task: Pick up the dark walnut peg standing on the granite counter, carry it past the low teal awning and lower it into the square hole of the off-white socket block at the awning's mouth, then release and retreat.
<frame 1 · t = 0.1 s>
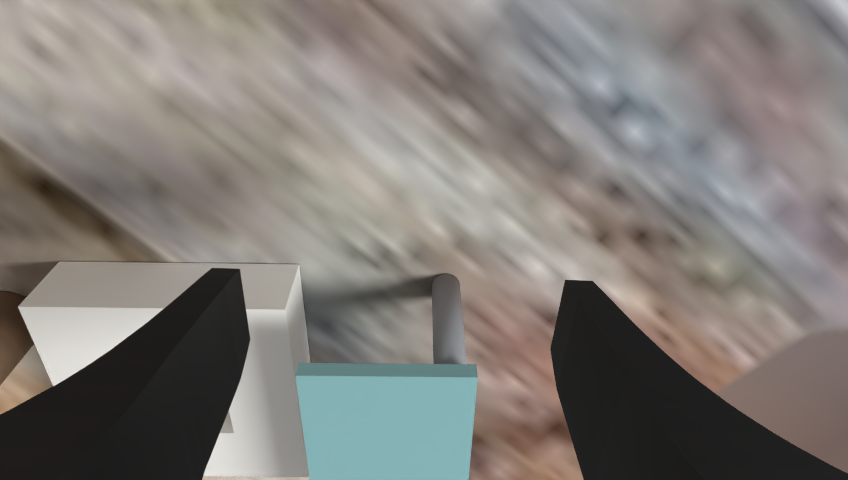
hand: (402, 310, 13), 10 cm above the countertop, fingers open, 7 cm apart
socket block: (201, 351, 27), on the countertop
peg: (12, 316, 26), on the countertop
awning: (395, 361, 28), on the countertop
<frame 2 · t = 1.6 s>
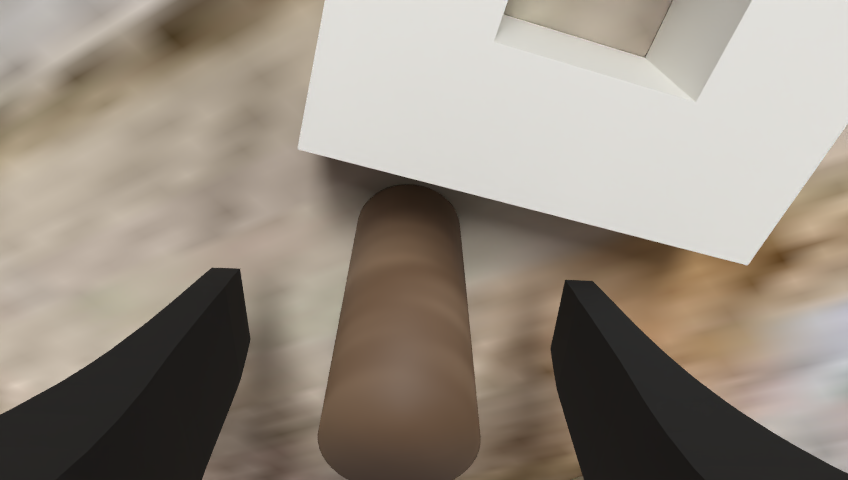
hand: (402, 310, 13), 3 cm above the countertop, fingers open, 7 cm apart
peg: (408, 230, 16), on the countertop
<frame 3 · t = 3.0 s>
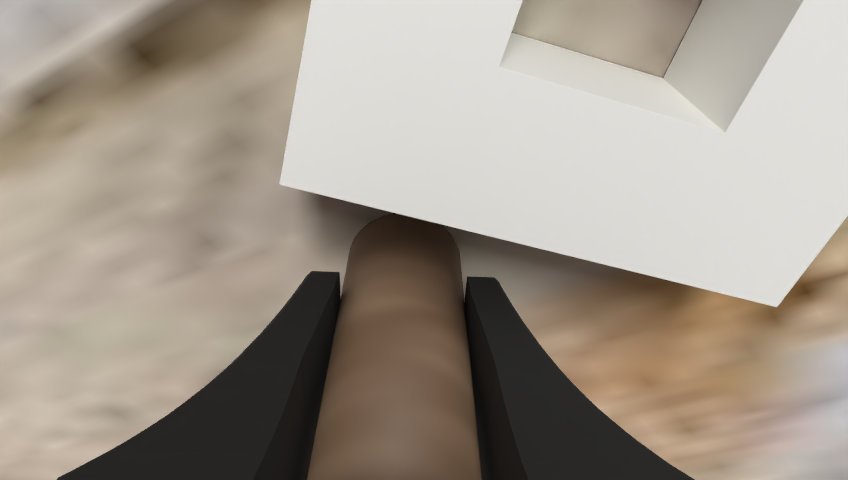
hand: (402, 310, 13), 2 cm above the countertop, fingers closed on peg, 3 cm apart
peg: (404, 261, 15), on the countertop, touching gripper
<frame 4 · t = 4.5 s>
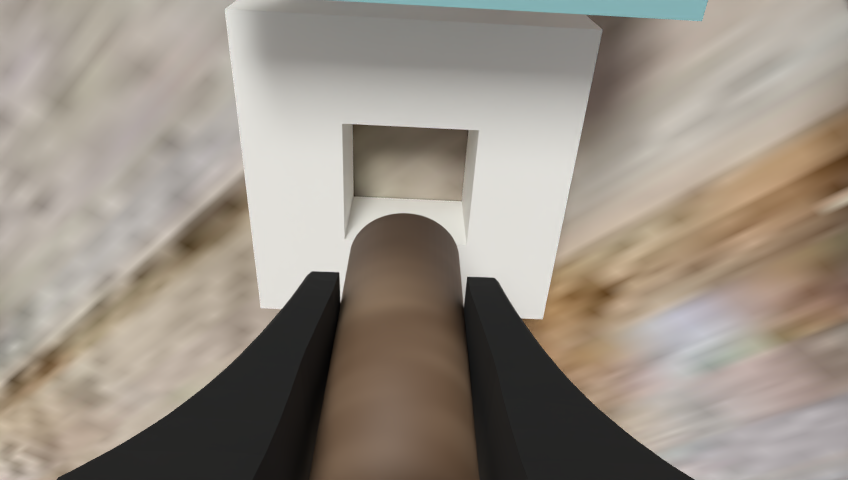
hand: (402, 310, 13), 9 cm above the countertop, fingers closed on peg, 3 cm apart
socket block: (409, 148, 21), on the countertop
peg: (404, 260, 15), point 7 cm above the countertop, touching gripper
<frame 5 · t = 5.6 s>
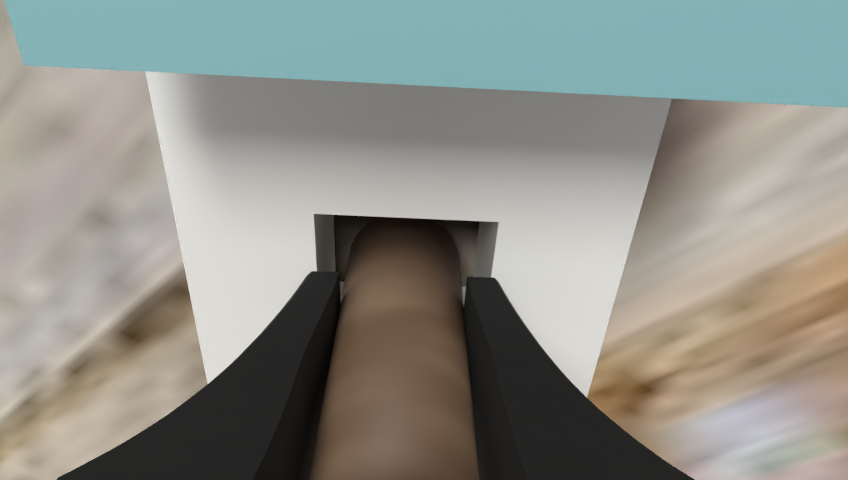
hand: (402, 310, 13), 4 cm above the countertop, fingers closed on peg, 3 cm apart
socket block: (406, 225, 16), on the countertop
peg: (404, 260, 15), point 2 cm above the countertop, touching gripper
when the fingers open (4 cm above the countertop, at t = 6.3 s): peg drops 1 cm, resting in socket block.
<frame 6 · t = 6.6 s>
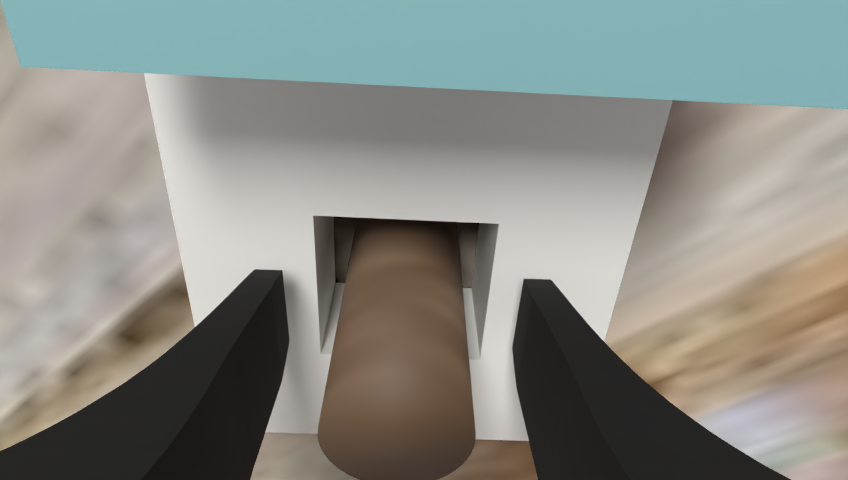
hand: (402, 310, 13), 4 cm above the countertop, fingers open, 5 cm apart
socket block: (406, 227, 16), on the countertop
peg: (406, 230, 16), resting in socket block
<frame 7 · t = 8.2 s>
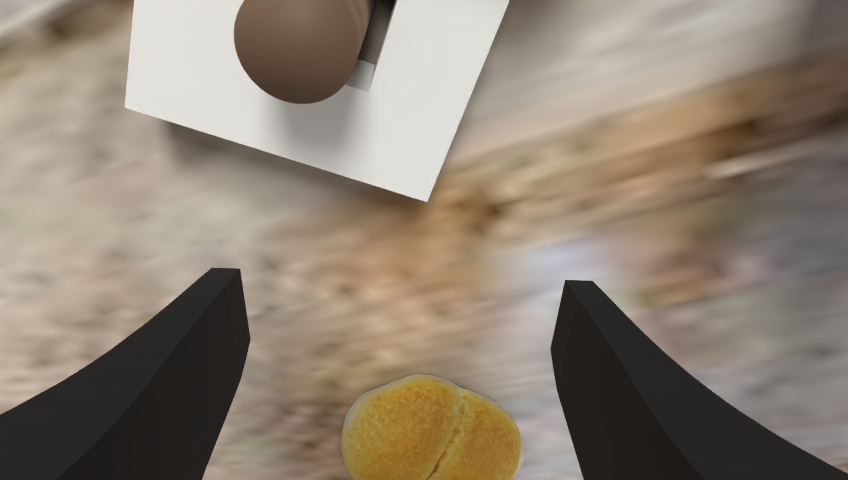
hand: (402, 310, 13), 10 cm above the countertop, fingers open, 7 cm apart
bread roll: (432, 423, 31), on the countertop
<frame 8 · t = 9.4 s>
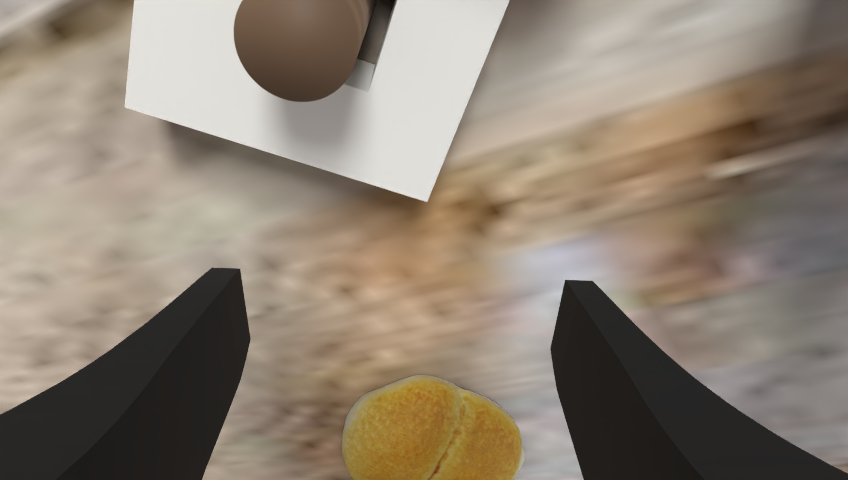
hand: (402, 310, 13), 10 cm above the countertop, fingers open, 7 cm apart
bread roll: (432, 424, 31), on the countertop
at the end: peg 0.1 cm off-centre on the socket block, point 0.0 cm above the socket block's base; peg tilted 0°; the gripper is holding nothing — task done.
